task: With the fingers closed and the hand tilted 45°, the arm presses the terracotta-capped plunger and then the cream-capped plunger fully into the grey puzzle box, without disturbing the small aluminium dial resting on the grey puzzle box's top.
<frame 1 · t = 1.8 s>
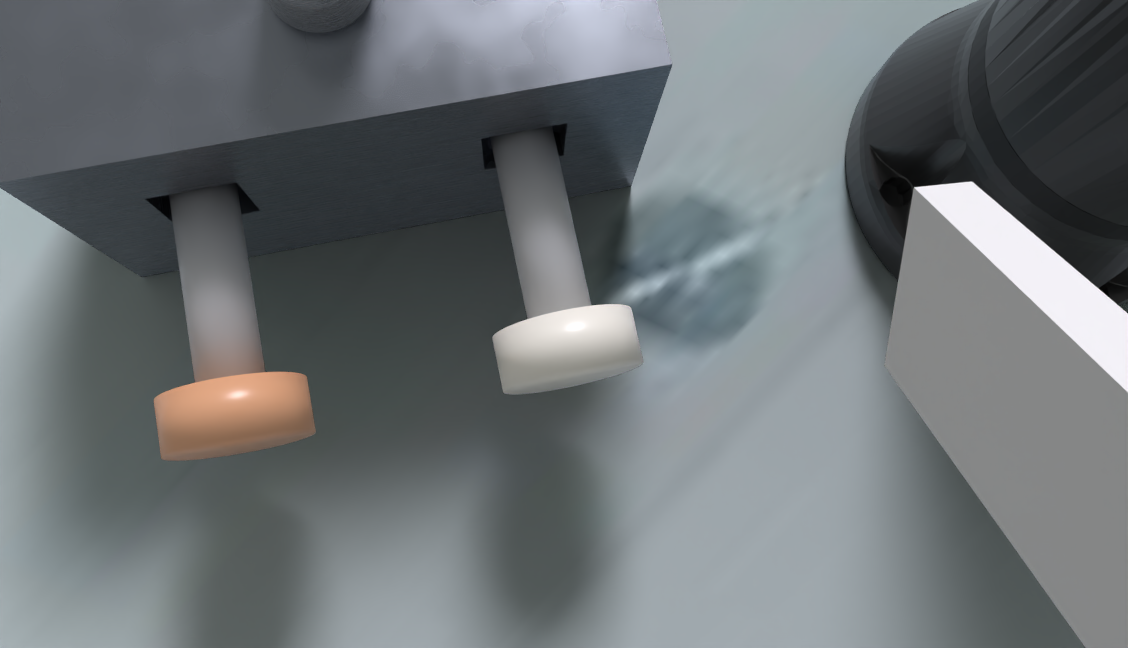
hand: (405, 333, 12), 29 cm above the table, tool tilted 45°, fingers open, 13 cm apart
grey puzzle box: (376, 147, 43), on the table
knob a: (221, 311, 35), point 7 cm above the table, slide at 0.0 cm
knob b: (546, 249, 36), point 7 cm above the table, slide at 0.0 cm
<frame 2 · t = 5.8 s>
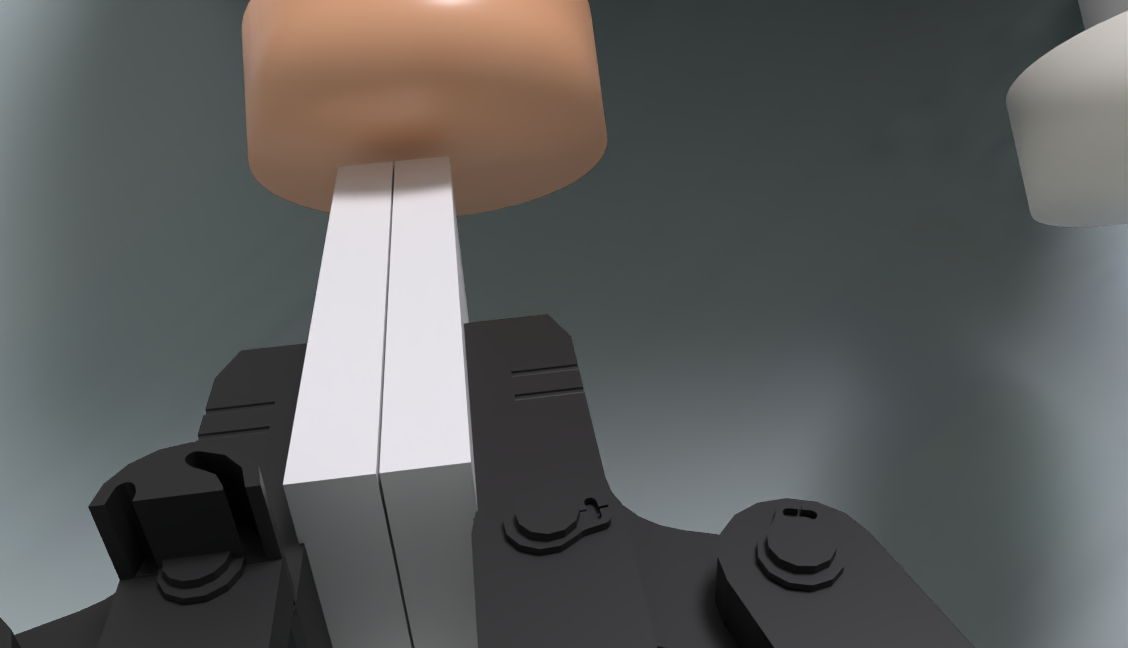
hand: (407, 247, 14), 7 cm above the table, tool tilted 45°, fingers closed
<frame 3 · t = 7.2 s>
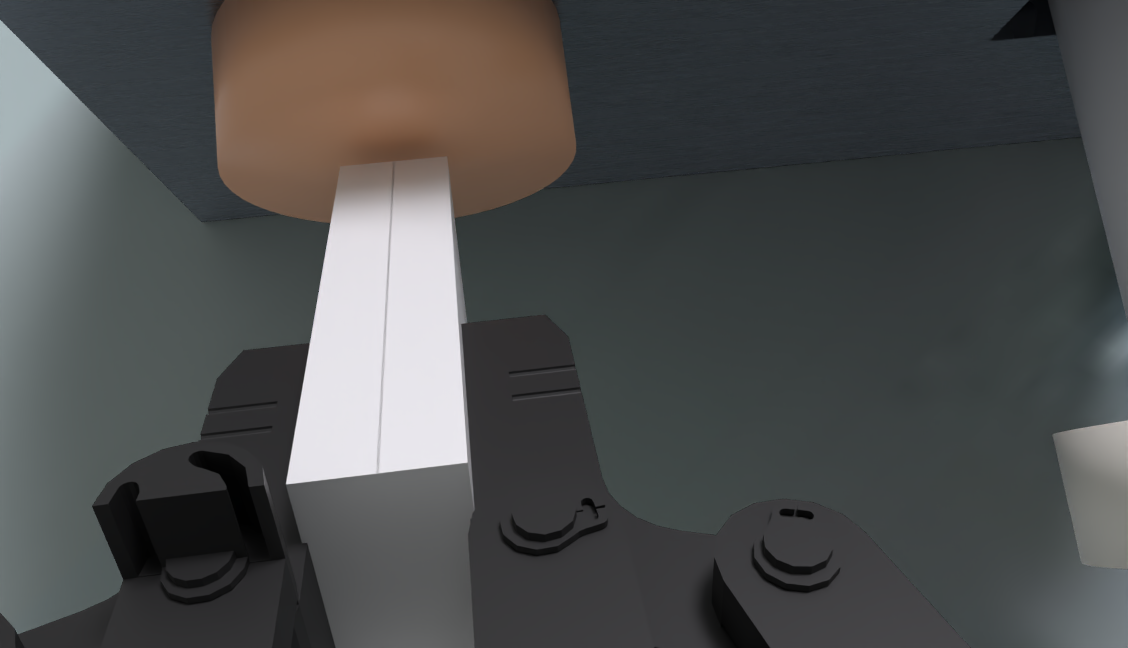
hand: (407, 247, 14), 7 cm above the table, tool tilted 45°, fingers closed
grey puzzle box: (665, 16, 23), on the table
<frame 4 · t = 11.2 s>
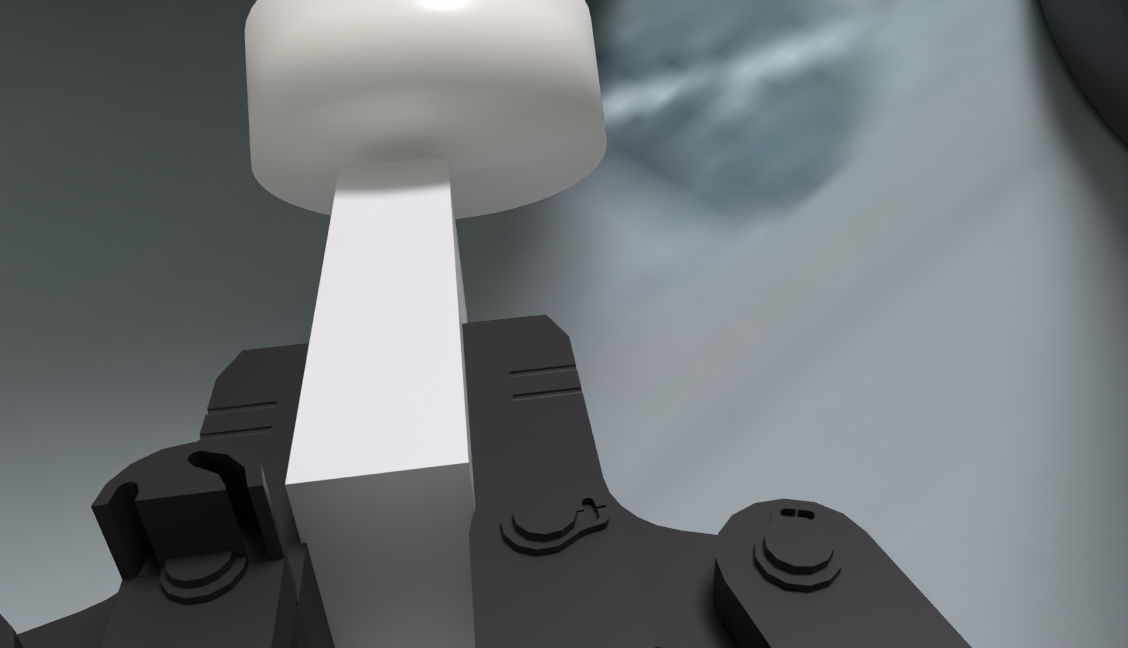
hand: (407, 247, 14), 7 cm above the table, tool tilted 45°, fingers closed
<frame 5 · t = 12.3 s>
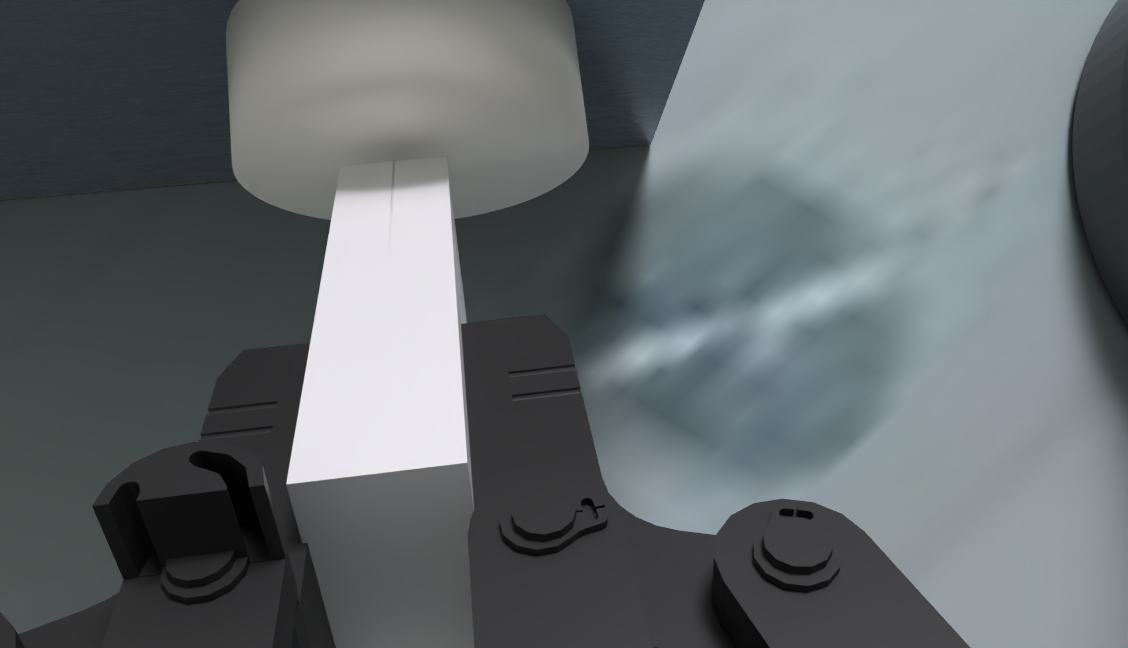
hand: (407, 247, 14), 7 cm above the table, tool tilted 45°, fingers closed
grey puzzle box: (156, 22, 22), on the table
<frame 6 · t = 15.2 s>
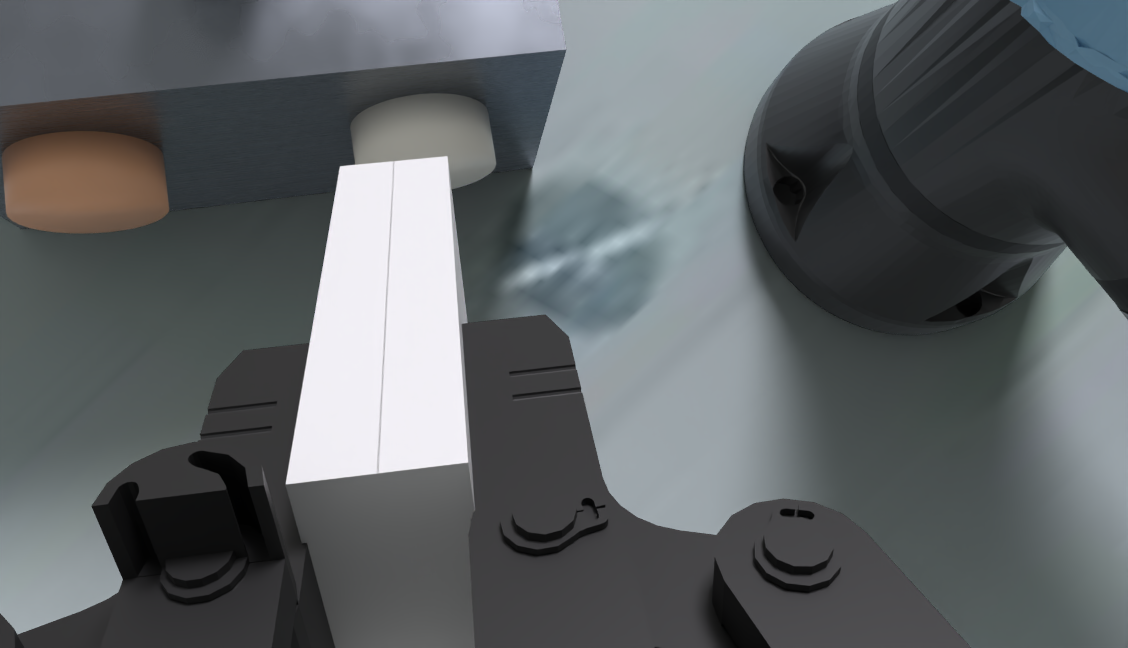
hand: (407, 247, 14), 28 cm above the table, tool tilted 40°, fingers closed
grey puzzle box: (276, 111, 43), on the table
knob a: (78, 83, 35), point 7 cm above the table, slide at 7.0 cm, touching grey puzzle box
knob b: (409, 50, 37), point 7 cm above the table, slide at 7.0 cm, touching grey puzzle box
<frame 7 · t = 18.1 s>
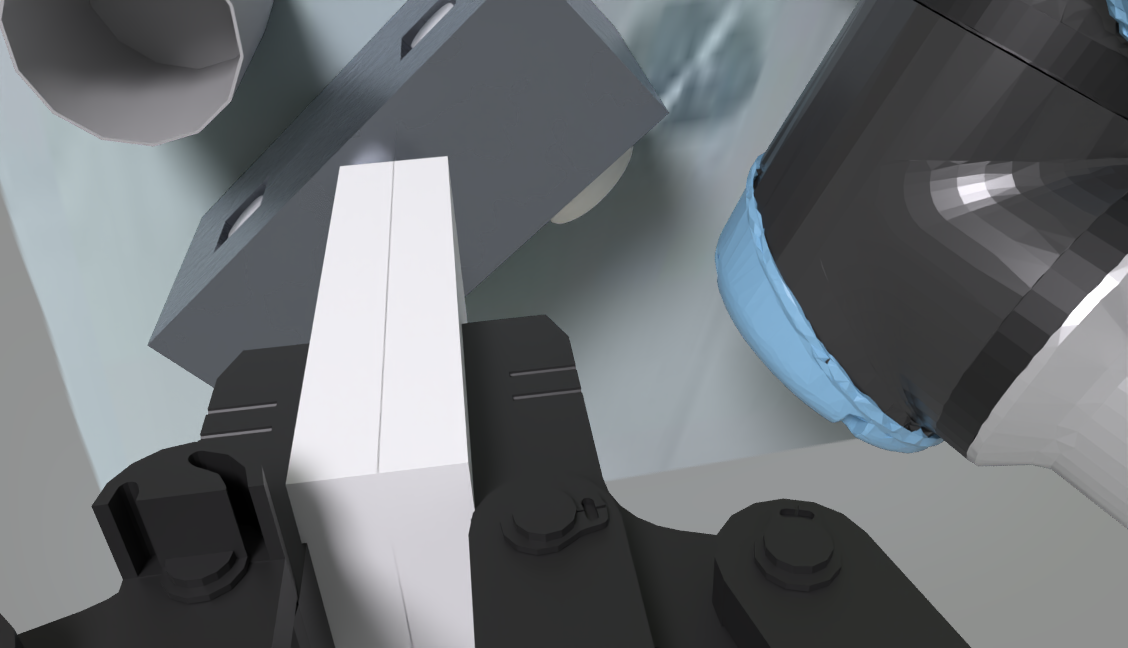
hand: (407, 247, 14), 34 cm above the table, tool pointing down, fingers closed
grey puzzle box: (403, 125, 49), on the table
knob a: (332, 281, 45), point 7 cm above the table, slide at 7.0 cm, touching grey puzzle box
knob b: (514, 106, 41), point 7 cm above the table, slide at 7.0 cm, touching grey puzzle box
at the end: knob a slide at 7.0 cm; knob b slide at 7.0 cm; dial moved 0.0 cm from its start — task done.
